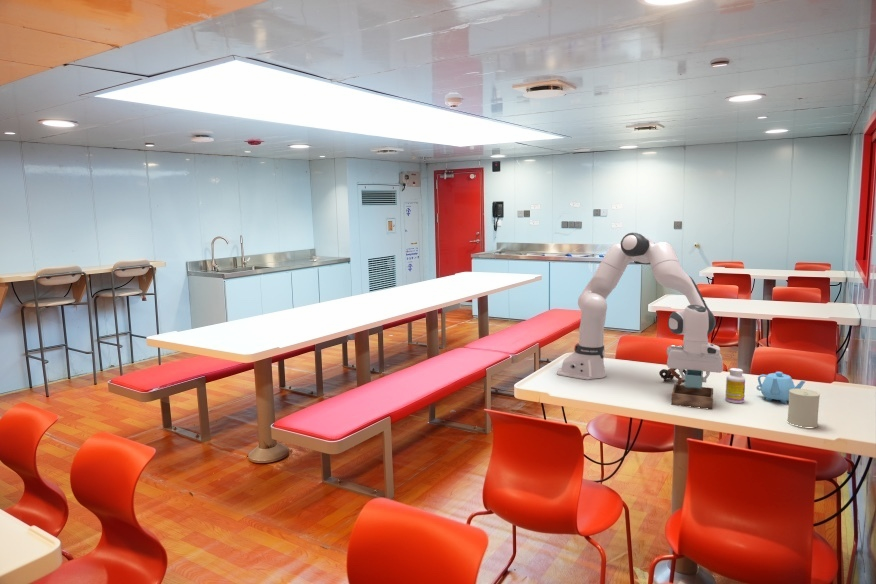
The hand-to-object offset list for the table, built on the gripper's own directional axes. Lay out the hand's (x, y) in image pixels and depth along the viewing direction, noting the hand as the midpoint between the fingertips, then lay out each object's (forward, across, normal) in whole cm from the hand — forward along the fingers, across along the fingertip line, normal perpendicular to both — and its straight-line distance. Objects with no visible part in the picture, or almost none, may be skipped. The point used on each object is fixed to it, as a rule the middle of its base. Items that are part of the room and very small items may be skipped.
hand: (693, 381), depth 228 cm
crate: (+8, 0, 0) cm, 8 cm away
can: (+9, +36, -12) cm, 39 cm away
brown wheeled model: (+9, -9, +26) cm, 29 cm away
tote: (+2, 0, 0) cm, 2 cm away
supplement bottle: (+9, +15, +8) cm, 19 cm away
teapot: (+9, +31, +16) cm, 36 cm away
